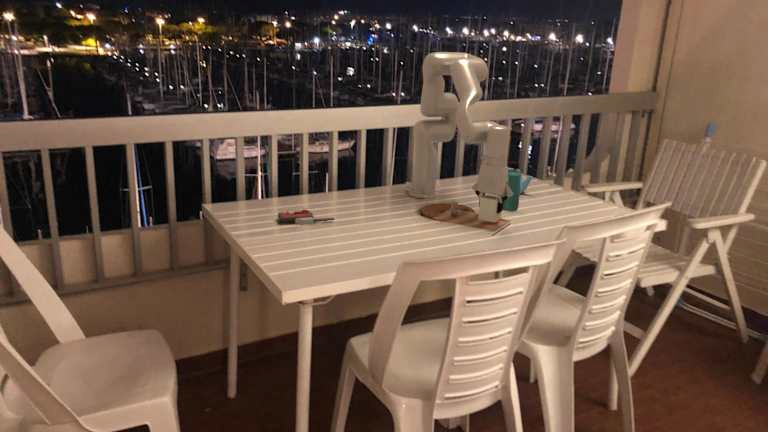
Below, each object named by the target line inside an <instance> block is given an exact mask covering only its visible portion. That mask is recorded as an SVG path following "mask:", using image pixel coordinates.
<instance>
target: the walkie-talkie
mask: <svg viewBox="0 0 768 432" xmlns="http://www.w3.org/2000/svg"><path fill="white" fill-rule="evenodd" d="M277 219H278V220H277V223H278V224H280V225H293V224H294V225H295V223H296V225H300V226H301V225H314V223H319V222H328V221H334V220H335V218H334V217H329V218H328V217H326V218H315V215H313V212H311V211H310V210H308V209H307V208H295V209H293V210H292V211H290V210H289V209H287V210H286V211H283V212H278V213H277Z"/></svg>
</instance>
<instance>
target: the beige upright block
mask: <svg viewBox="0 0 768 432" xmlns="http://www.w3.org/2000/svg"><path fill="white" fill-rule="evenodd" d="M498 202H499V200H498V196H497V195H493V194H487V193H486V194H485V195H484V196H482V197H480V206H479V205H478V214H479V217H478V219H480V220H484V221H489V222H496V221H497V220H499V219H502V211H501V212H500V213H499V214H497V204H498Z"/></svg>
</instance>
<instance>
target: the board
mask: <svg viewBox="0 0 768 432" xmlns="http://www.w3.org/2000/svg"><path fill="white" fill-rule="evenodd" d="M478 217H479V213H477V212H472V211H467V210H463V209H459V202H458V201H452V202H451V206H450V208H448V209H447V210H446V211H443V212H441V213H439V214H437V215H435V216H433V217H432V219H435V220H437V221H443V222H447V223H452V224H455V225H460V226H466V227H471V228H474V229H475V228H476V229H479V230H484V231H487V232H495V231H496V232H495V233H493V234H492V235H491V236H492V237H493V236H495V235H497V234H498V233H500V232H501V231H503V230H505V228H507V227H509V226H510V225H511V223H510V222H511V220H510V219H506V218H501V219H499V220H497V221H496V222H489V221H484V220H480V219H478ZM503 226H504V227H503ZM500 228H501V229H500ZM499 229H500V230H499ZM497 230H498V231H497Z"/></svg>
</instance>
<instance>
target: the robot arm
mask: <svg viewBox="0 0 768 432" xmlns="http://www.w3.org/2000/svg"><path fill="white" fill-rule="evenodd" d="M488 74H489V69H488V65H487V63H486V61H485V60H484V59H483V58H480V57H478V56H476V55H473V54H470V53H467V52H457V51H456V52H451V51H437V52H431V53H428V54H427V55H426V56H425V58H424V60H423V63H422V75H423V77H422V78H423V81H422V82H423V85H422V90H421V98H420V113H421V115H422V116H424V117H425V118H426V117H427V118H428V119H420V120H418V121H416V123H415V124H414V125H413V127H412V128H413V129H412V135H413V142H414V145H413V146H414V149H413V150H414V151H413V152H414V156H413V173H412V174H413V175H412V182H408V181H406V182H405V184H404V187H405V188H406V189H409V190H408V195H409V196H410V197H412V198H415V199H421V200H423V199H425V198H428V197H430V196H435V197H439V193H440V192H439V191H437V190H436V184H437V182H436V181H437V169H438V151H437V148H436V147H435V145H434V144H435V143H447V142H450V141H452V139H453V138H454V136H455V133H456V130H458V132H459V135H460V138H461V139H462V140H463V141H464V143H466V144H471V145H472V144H473V145H474V144H482V143H483V144H485V148H484V155H481V156H480V160H482V161H483V163H481V165H480V168H479V171H478V176H477V181H476V183H474V184H473V185H472V186H471V189H472V191H473V192H475V195H476V196H477V198H478V200H479V201H478V207H479V206H480V197H482V196H484V195H486V194H490V195H495V196H498V200H499V202H498V204H497V214H499V213H500V212H501V213H502V211H504V210H503V202H504V201H505V200H507V199H508V198H509V197H511V196H512V195H513V192H512V191H511V189H510V188H509V186H508V168H509V167H508V165H507V158H508V157H507V156H508V148H509V147H508V146H509V137H510V129H509V127H508V126H506V125H502V124H499V123H498V122H495V121H492V120H488V121H487V120H485V121H482V120H481V121H472V120H471V117H470V114H469V107H471V106H473V105H474V104H476V103H477V102H479V101H480V100H481V99H482V97H483V96H484V95H483V94H484V93H483V90H482V87H481V85H480V82H483V81H485V80H486V79H487V78H488ZM443 76H451V79H452V82H453V85H454V88H455V90H456V91H455V92H456V93H457V96H456V94H454V93H452V92H445V86H446V85H445V83H446V81H445V79H444V77H443ZM429 118H430V119H429ZM431 118H433V119H431ZM456 127H457V128H456ZM506 192H507V193H508V194H507V195H506V196H504V193H506Z"/></svg>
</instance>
